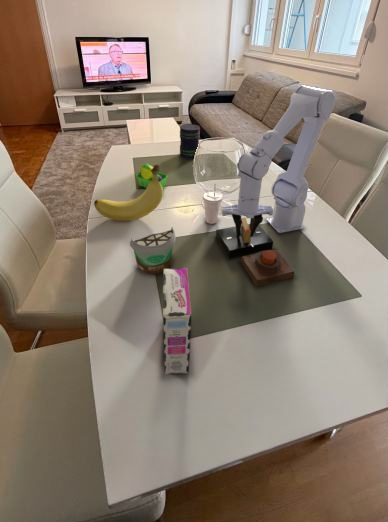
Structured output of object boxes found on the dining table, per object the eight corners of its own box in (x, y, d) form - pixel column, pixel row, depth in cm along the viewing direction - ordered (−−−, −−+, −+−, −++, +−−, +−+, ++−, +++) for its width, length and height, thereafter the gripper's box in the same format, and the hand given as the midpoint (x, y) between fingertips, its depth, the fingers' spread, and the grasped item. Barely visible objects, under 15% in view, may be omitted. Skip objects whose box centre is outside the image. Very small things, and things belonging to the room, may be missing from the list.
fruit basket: (169, 186, 121) (168, 161, 116) (155, 195, 115) (154, 169, 110) (147, 179, 127) (146, 154, 121) (133, 187, 120) (131, 161, 115)
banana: (94, 223, 98) (85, 168, 89) (98, 213, 103) (90, 160, 94) (163, 223, 99) (161, 168, 89) (164, 213, 104) (162, 161, 95)
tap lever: (239, 228, 92) (240, 216, 90) (244, 228, 92) (245, 216, 90) (243, 242, 86) (245, 230, 84) (249, 242, 86) (251, 230, 84)
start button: (270, 254, 81) (271, 249, 80) (277, 262, 78) (278, 257, 77) (258, 256, 80) (259, 251, 79) (265, 265, 77) (266, 260, 76)
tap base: (254, 228, 97) (256, 220, 96) (273, 250, 88) (274, 242, 86) (215, 236, 93) (215, 228, 92) (229, 260, 84) (230, 251, 82)
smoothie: (219, 227, 97) (222, 190, 91) (200, 224, 99) (201, 187, 92) (221, 216, 103) (224, 180, 96) (203, 214, 104) (205, 178, 98)
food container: (139, 284, 75) (136, 253, 71) (132, 268, 80) (129, 238, 75) (183, 268, 81) (183, 239, 76) (174, 254, 85) (173, 226, 81)
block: (275, 255, 86) (277, 244, 84) (293, 277, 79) (296, 265, 77) (240, 262, 83) (242, 251, 81) (256, 286, 75) (258, 275, 74)
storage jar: (177, 158, 148) (177, 129, 141) (181, 151, 156) (181, 123, 149) (197, 160, 146) (198, 130, 139) (200, 152, 155) (201, 124, 148)
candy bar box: (190, 374, 56) (192, 315, 48) (164, 376, 56) (161, 316, 48) (187, 322, 66) (187, 266, 58) (164, 323, 66) (162, 267, 58)
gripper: (225, 202, 79) (222, 243, 85) (279, 202, 79) (272, 242, 86) (221, 189, 85) (218, 228, 91) (271, 189, 86) (265, 227, 92)
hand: (244, 234), depth 89 cm, fingers open, 3 cm apart
